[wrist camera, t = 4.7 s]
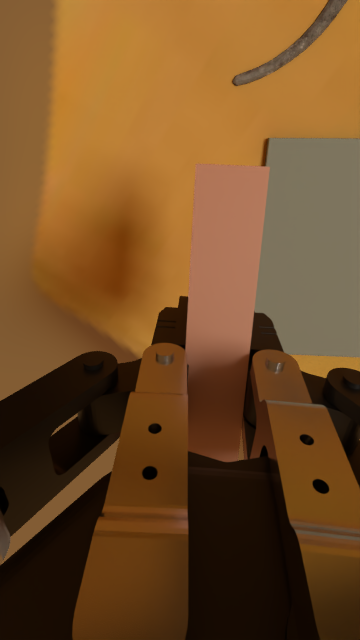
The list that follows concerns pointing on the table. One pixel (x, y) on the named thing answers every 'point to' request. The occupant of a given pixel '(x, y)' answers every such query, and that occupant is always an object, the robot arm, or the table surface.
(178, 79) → the table surface
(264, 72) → the pliers
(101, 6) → the table surface
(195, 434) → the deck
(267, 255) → the mat
